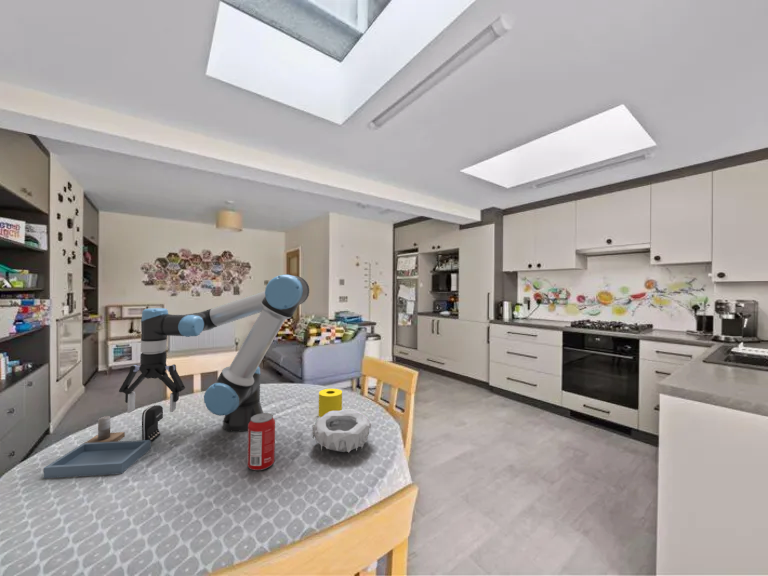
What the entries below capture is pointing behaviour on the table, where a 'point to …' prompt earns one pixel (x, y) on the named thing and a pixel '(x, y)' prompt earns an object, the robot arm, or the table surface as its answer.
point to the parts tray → (98, 459)
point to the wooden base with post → (106, 432)
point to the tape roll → (329, 401)
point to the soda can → (261, 441)
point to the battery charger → (151, 422)
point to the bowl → (342, 430)
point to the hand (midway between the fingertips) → (152, 411)
